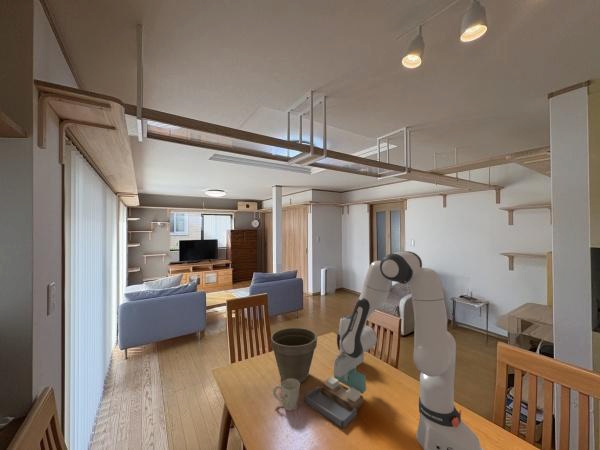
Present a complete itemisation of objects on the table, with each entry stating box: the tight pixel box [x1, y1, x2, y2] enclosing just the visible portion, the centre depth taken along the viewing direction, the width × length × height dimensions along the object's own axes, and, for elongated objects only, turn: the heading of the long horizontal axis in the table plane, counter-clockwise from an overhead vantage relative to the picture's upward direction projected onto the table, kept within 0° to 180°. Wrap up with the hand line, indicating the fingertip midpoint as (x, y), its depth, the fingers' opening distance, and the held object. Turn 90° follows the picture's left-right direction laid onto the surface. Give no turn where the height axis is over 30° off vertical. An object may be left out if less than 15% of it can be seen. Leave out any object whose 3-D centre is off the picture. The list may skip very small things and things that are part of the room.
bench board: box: [320, 383, 364, 411], centre depth 116 cm, size 18×8×4 cm, turn 44°
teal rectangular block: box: [333, 369, 367, 394], centre depth 121 cm, size 16×3×7 cm, turn 44°
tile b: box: [324, 376, 340, 389], centre depth 121 cm, size 4×4×2 cm
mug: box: [272, 378, 301, 412], centre depth 112 cm, size 8×13×10 cm, turn 78°
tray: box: [303, 385, 358, 430], centre depth 110 cm, size 22×10×3 cm, turn 44°
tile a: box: [346, 387, 361, 402], centre depth 112 cm, size 4×4×2 cm
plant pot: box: [270, 327, 318, 384], centre depth 135 cm, size 25×25×22 cm
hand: (349, 378), depth 121 cm, fingers closed on teal rectangular block, 3 cm apart
